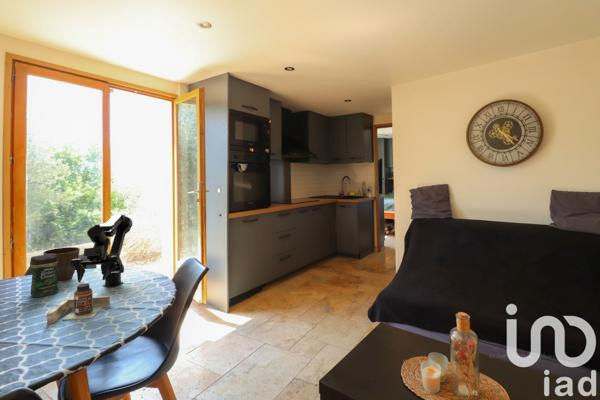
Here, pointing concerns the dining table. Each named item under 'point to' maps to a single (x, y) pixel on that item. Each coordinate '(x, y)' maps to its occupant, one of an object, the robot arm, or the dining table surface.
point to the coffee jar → (44, 275)
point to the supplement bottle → (83, 299)
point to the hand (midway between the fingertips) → (91, 281)
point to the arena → (69, 304)
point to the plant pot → (64, 262)
